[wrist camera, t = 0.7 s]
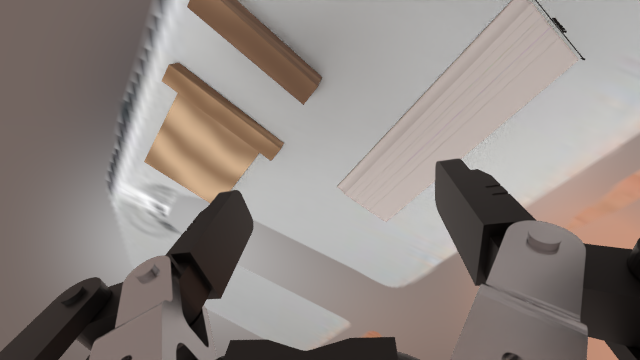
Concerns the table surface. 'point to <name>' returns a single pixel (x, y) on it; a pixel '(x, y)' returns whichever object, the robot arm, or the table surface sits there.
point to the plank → (258, 45)
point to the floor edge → (206, 138)
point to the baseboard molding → (462, 107)
